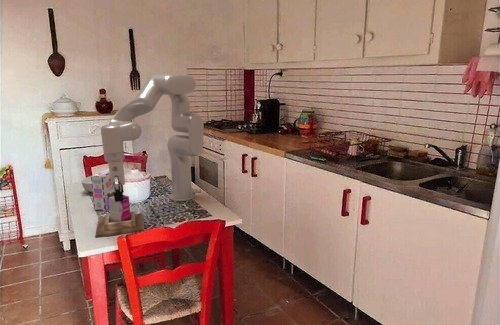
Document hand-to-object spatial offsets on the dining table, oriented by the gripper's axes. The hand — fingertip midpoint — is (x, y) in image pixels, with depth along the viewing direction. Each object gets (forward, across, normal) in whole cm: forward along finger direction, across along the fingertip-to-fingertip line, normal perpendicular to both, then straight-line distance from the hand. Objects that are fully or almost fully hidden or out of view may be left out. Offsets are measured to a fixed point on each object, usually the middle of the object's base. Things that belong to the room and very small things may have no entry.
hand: (119, 196), depth 150 cm
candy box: (+13, +26, +7) cm, 30 cm away
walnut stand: (+12, -1, +1) cm, 12 cm away
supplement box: (+11, -1, +1) cm, 11 cm away
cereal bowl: (+13, +51, +12) cm, 54 cm away
